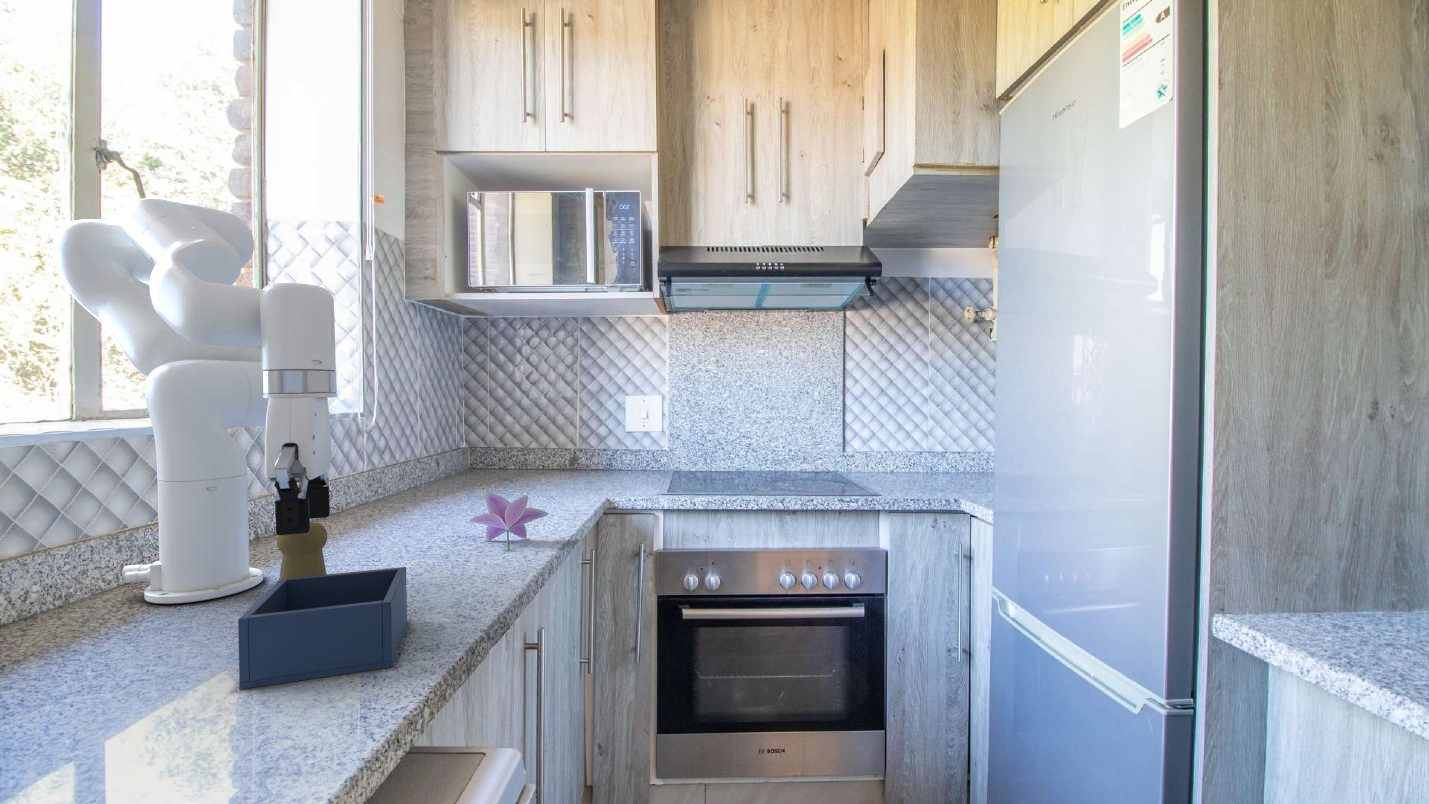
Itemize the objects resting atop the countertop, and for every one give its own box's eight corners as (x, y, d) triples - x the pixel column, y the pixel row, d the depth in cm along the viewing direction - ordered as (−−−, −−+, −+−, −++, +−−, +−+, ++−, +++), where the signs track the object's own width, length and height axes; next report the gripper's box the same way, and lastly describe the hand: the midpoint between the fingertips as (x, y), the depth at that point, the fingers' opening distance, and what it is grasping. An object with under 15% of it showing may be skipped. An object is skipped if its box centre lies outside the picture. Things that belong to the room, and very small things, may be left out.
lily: (557, 547, 110) (550, 497, 113) (526, 536, 99) (519, 481, 103) (497, 565, 111) (492, 515, 115) (459, 557, 100) (455, 502, 104)
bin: (239, 689, 56) (237, 619, 56) (281, 637, 68) (280, 578, 68) (392, 667, 61) (391, 601, 60) (407, 621, 72) (406, 566, 72)
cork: (263, 616, 74) (261, 526, 74) (315, 600, 79) (313, 517, 79) (291, 625, 71) (289, 532, 71) (343, 608, 76) (341, 522, 76)
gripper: (285, 387, 81) (290, 515, 81) (236, 385, 65) (241, 544, 65) (350, 386, 84) (354, 510, 84) (318, 384, 68) (323, 537, 68)
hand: (305, 525), depth 75 cm, fingers open, 9 cm apart
